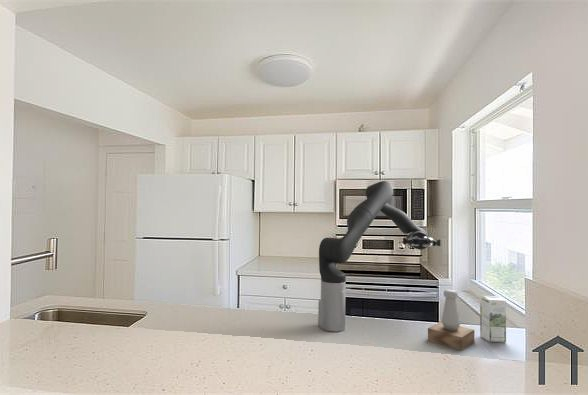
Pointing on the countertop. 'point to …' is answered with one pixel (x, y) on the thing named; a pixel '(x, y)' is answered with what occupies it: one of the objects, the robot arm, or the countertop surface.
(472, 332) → the wooden block
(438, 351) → the countertop surface
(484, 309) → the syrup box
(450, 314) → the salt shaker
